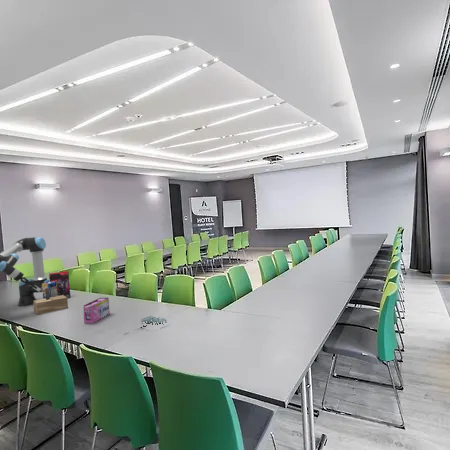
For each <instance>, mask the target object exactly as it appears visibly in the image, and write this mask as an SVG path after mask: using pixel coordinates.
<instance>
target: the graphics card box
mask: <svg viewBox="0 0 450 450" xmlns="http://www.w3.org/2000/svg"><path fill="white" fill-rule="evenodd" d="M69 275H70V274H69V271H68V270H65V271H64V270H63V271H57V272H50V273H49V274H48V277H49V279H48V280H49V281H51V282H57V294H58V296H60V295H64V296H66V297H67V299H71V288H70V276H69Z"/></svg>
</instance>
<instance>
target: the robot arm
mask: <svg viewBox="0 0 450 450" xmlns="http://www.w3.org/2000/svg"><path fill="white" fill-rule="evenodd" d="M46 246H47V242H46V240H45V239H44V237H39V236H37V237H35V236H34V237H23V238H21V239H18V240H17V241H15V242H14V243H12V245H10V246H9V247H8V248H6V249H5V250H3V251H1V252H0V272H1V273H3V274H5V275H6V276H8V278H9V279H10V278H11V279H13V280H14V281H15V282H18V281H19V282H18V293H19V298H18V302H17V304H18V306H19V307H23V306H31V305H33V302H34V300H37V298H36V296H35V294H37V293H43V289H42V283H44V282H48V281H50V279H47V278H48V277H46V276H45V267H44V265H45V264H44V258H43V257H44V256H43V252H44V250H45V249H46V248H47V247H46ZM23 251H29V253H31V256H32V257H31V258H32V269H33V276H34V277H33V278H31V279H27V278H26V277H25V276H24V273H23V272H22V271H20V270H18V269H17V268H15V265H16V264H17V262H18V261H19V258H20V256H19V255H18V254H17V253H20V252H23Z"/></svg>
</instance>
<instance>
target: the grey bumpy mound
mask: <svg viewBox="0 0 450 450" xmlns="http://www.w3.org/2000/svg"><path fill="white" fill-rule="evenodd" d="M151 320H152V322H151ZM140 321H141V323H142V322H145V323H146V321H147V323H146V324H150V323H149V322H151V323H152V325H153V322H154V323H155V322H156V323H155V325H156V324H157V325H158V323H159V324H161V322H162V324H163V323H167V318H165V317H163V318H162V317H156V316H153V315H148V316H146V317H143V318H140ZM157 322H158V323H157ZM163 325H164V324H163ZM146 326H147V325H146ZM146 326H144V325H143V327H146Z"/></svg>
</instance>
